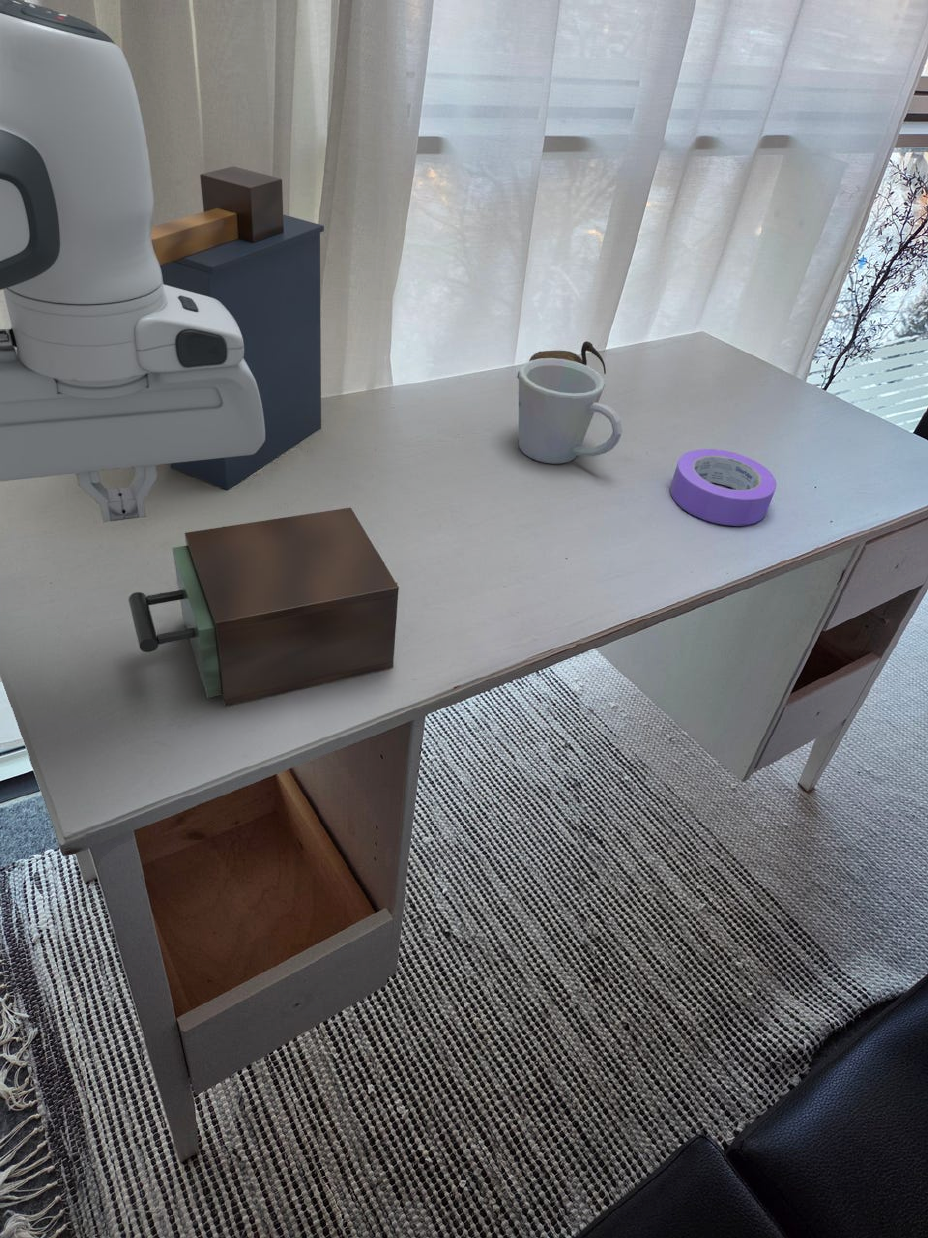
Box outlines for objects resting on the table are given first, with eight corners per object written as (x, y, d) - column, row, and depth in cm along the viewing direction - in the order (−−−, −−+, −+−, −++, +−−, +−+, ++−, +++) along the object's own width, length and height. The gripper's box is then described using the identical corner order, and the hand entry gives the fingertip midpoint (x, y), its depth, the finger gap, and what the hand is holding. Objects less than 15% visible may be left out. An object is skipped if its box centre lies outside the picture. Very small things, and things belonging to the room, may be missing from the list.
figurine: (607, 410, 117) (621, 350, 111) (585, 417, 115) (598, 356, 109) (538, 371, 125) (548, 313, 119) (516, 377, 122) (525, 318, 116)
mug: (542, 421, 112) (555, 350, 106) (633, 468, 105) (653, 395, 99) (490, 444, 106) (501, 369, 99) (583, 496, 99) (601, 419, 92)
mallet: (135, 285, 71) (125, 223, 68) (81, 268, 73) (69, 206, 69) (284, 232, 86) (282, 178, 83) (236, 218, 88) (233, 165, 84)
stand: (231, 491, 92) (211, 266, 76) (166, 466, 94) (135, 243, 79) (324, 429, 104) (324, 225, 89) (265, 407, 107) (255, 206, 92)
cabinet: (225, 707, 68) (215, 623, 62) (195, 614, 76) (184, 532, 70) (393, 668, 74) (399, 587, 68) (349, 585, 82) (350, 507, 76)
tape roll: (662, 470, 106) (670, 443, 103) (752, 479, 106) (762, 452, 104) (679, 522, 97) (688, 494, 94) (777, 531, 97) (789, 503, 95)
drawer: (153, 710, 66) (139, 641, 61) (132, 623, 73) (118, 556, 68) (366, 661, 73) (369, 596, 68) (328, 586, 80) (328, 522, 75)
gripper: (-109, 357, 45) (-41, 563, 54) (268, 337, 53) (273, 520, 62) (-104, 313, 49) (-42, 511, 58) (244, 301, 57) (253, 476, 66)
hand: (123, 515), depth 60 cm, fingers closed
